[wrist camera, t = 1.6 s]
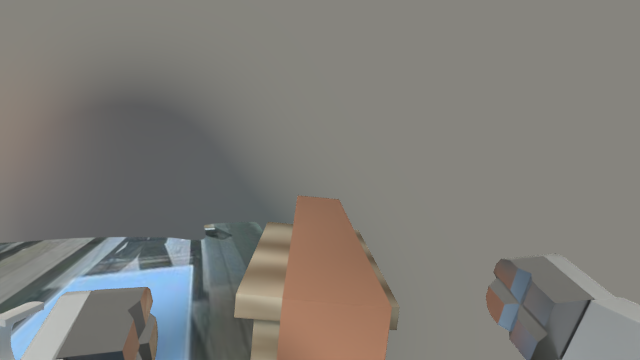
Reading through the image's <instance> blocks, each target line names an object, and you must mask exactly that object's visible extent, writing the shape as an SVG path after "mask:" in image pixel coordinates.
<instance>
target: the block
mask: <svg viewBox="0 0 640 360" xmlns="http://www.w3.org/2000/svg"><path fill="white" fill-rule="evenodd" d="M391 311H392V307H391V305H390V303H389V301H388V299H387V296H386V294H385V292H384V290H383V288H382V286H381V284H380V282H379V280H378V278H377V276H376V274H375V272H374V270H373V268H372V266H371V264H370V262H369V260H368V258H367V256H366V254H365V252H364V250H363V247H362V245H361V243H360V241H359V239H358V237H357V235H356V233H355V231H354V229H353V227H352V225H351V223H350V221H349V219H348V217H347V215H346V213H345V211H344V209H343V207H342V205H341V203H340V201H339V199H329V198H318V197H308V196H298V197H297V204H296V210H295V217H294V224H293V230H292V237H291V244H290V251H289V257H288V264H287V271H286V277H285V284H284V291H283V298H282V307H281V318H280V329H279V339H278V350H277V360H385V355H386V349H387V341H388V333H389V326H390V319H391Z"/></svg>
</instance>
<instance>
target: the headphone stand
mask: <svg viewBox="0 0 640 360" xmlns="http://www.w3.org/2000/svg"><path fill="white" fill-rule="evenodd" d="M43 309H44V303H43V302H29V303H26V304H23V305H21V306H19V307H16V308H14V309H12V310H9V311H7V312H5V313H3V314H0V360H15V358H14V355H13V352H12V348H11V330H12V327H13V324H14V323H15V322H17V321H19V320H21V319H24V318H26V317H28V316H30V315H32V314H34V313H36V312H38V311H41V310H43Z"/></svg>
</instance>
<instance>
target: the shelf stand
mask: <svg viewBox="0 0 640 360" xmlns="http://www.w3.org/2000/svg"><path fill="white" fill-rule="evenodd" d="M292 230H293V224H285V223H274V222H268V223H267V225H266V227H265V230H264V232H263V234H262V236H261V239H260V241H259V243H258V246H257V248H256V250H255V252H254V255H253V257H252V259H251V261H250V264H249V266H248V268H247V270H246V273H245V275H244V277H243V279H242V282H241V284H240V286H239V288H238V291H237V293H236V301H235V314H234V317H235V318H248V319H254V326H253V338H252V350H251V360H277V350H278V339H279V329H280V318H281V307H282V298H283V291H284V284H285V277H286V271H287V264H288V257H289V251H290V244H291V237H292ZM354 231H355V233H356V235H357V237H358V239H359V241H360V243H361V245H362V247H363V250H364V252H365V254H366V256H367V258H368V260H369V262H370V264H371V266H372V268H373V270H374V272H375V274H376V276H377V278H378V280H379V282H380V284H381V286H382V288H383V290H384V292H385V294H386V296H387V299H388V301H389V303H390V305H391V307H392V311H391V319H390V326H389V330H397V322H398V315H399V305H398V303H397V301H396V300H395V298H394V296H393V294H392V292H391V290H390V289H389V287H388V285H387V283H386V281H385V279H384V277H383V275H382V273H381V272H380V270H379V268H378V266H377V264H376V262H375V261H374V258H373V257H372V255H371V253H370V251H369V249H368V247H367V245H366V243H365V242H364V240H363V238H362V236H361V234H360V232H359V230H354Z"/></svg>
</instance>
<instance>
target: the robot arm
mask: <svg viewBox="0 0 640 360" xmlns="http://www.w3.org/2000/svg"><path fill="white" fill-rule="evenodd" d="M494 274H495V276H496V279H495V280H494V282H492V283H491V285H489V287H488V291H487V295H486V301H487V307H488V310H489V312H490V314H491V316H492V317H493V319H494V320H495V321H496V323H497V324H498V325H500V326H502V327H503V328H505V329H507V330H508V331H509V336H510V340H511V342H512V343H513V344H514V345H515V347H516V348H517V349H518V350H519V352H520V353H521V354H522V355H523V357H524V358H525V359H526V360H640V305H639V304H637V303H634V302H632V301H630V300H627V299H625V298H622V297H619V298H616V297H615V296H613V295H612V294H611V293H609V292H608V291H607V290H605V289H604V288H603V287H602V286H600V285H599V284H598V283H597V282H595V281H594V280H593V279H592V278H590V277H589V276H588V275H586V274H585V273H584V272H582V271H581V270H580V269H579V268H577V267H576V266H575V265H573V264H572V263H571V262H570V261H569V260H567V259H566V258H565V257H563V256H561V255H558V254H546V255H537V256H529V257H517V258H507V259H501V260H500V261H499V262H498V263H497V264H496V266H495V269H494ZM152 303H153V300H152V295H151V291H150V289H149V288H148V287H137V288H120V289H103V290H94V291H76V292H66V293H65V294H63V295H62V296H61V297H60V298H59V299H58V301H57V302H56V304H55V305H54V307H53V308H52V310H51V312H50V313H49V315H48V316H47V318H46V319H45V321H44V323H43V324H42V326H41V327H40V329H39V331H38V332H37V334H36V335H35V337H34V338H33V340H32V342H31V343H30V345H29V346H28V348H27V349H26V351H25V353H24V354H23V356H22V357H21V359H20V360H155V356H156V350H157V340H158V331H157V322H156V317H154V316H153V315H152V314H150V310H151V306H152Z"/></svg>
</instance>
